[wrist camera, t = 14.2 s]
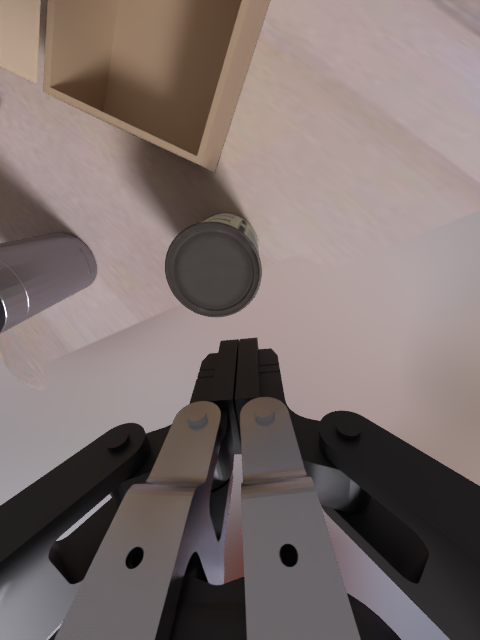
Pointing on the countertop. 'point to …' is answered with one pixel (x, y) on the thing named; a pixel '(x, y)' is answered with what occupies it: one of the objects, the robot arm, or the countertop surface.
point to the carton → (155, 66)
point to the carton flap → (20, 37)
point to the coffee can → (215, 266)
